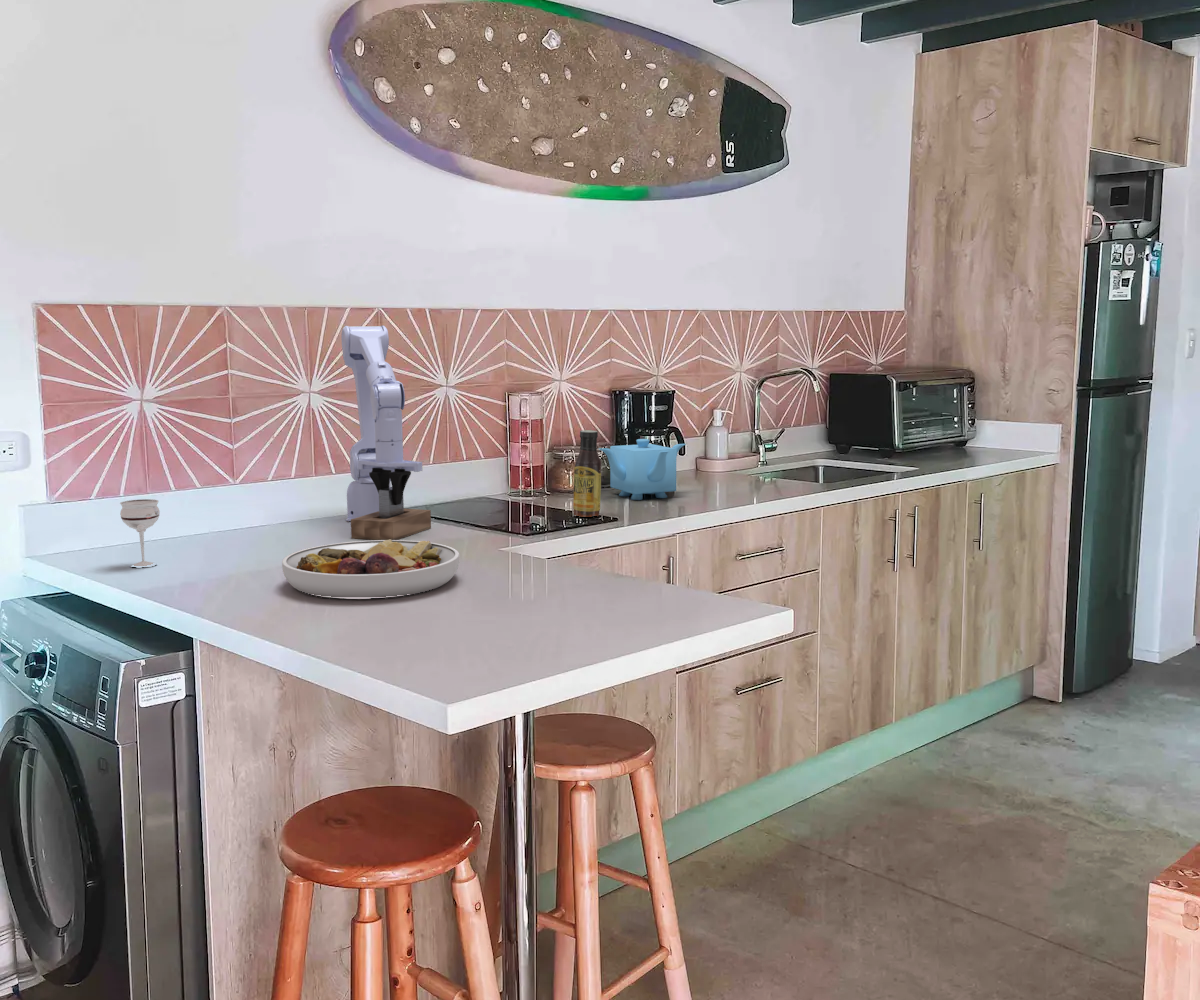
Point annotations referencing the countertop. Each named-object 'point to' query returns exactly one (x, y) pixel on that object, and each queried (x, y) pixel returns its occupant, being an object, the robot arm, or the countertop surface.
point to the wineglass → (140, 519)
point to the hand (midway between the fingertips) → (391, 504)
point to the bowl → (371, 568)
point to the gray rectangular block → (389, 504)
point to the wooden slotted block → (390, 525)
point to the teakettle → (642, 469)
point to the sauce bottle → (587, 477)
